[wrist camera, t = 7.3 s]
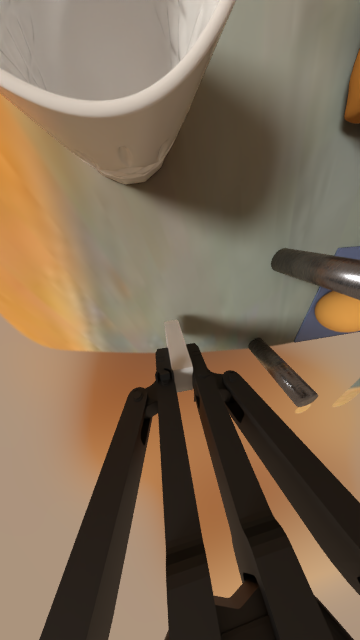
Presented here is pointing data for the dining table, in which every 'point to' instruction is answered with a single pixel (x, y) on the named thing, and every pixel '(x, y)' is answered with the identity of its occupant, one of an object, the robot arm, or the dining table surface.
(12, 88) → the white cup
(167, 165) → the dining table surface
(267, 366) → the far post
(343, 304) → the ball
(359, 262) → the near post
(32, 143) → the dining table surface
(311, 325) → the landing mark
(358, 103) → the coffee package
